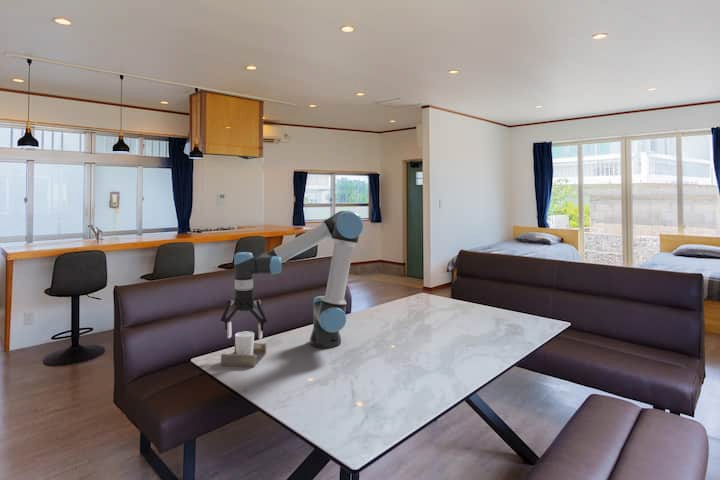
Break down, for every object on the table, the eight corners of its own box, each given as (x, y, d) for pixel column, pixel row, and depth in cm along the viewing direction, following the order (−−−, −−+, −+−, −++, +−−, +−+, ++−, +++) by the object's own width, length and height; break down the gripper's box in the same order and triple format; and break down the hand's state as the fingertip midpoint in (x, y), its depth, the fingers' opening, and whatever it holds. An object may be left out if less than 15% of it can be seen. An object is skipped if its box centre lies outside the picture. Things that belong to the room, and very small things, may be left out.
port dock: (266, 353, 182) (266, 343, 182) (254, 367, 166) (254, 356, 166) (235, 352, 183) (235, 342, 183) (221, 365, 168) (221, 355, 167)
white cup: (234, 360, 170) (234, 337, 169) (235, 354, 178) (235, 331, 177) (254, 359, 172) (254, 336, 171) (254, 352, 180) (254, 330, 179)
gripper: (211, 290, 170) (213, 339, 171) (270, 291, 168) (271, 341, 170) (219, 286, 177) (220, 334, 179) (275, 287, 175) (276, 335, 177)
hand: (245, 337), depth 174 cm, fingers open, 13 cm apart
